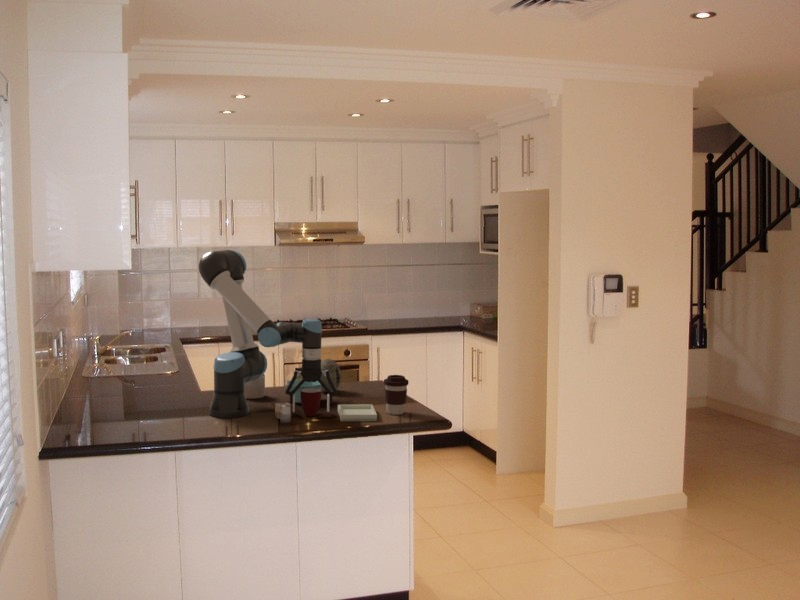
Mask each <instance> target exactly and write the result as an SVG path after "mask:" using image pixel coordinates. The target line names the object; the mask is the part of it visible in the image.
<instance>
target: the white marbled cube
mask: <svg viewBox="0 0 800 600" xmlns="http://www.w3.org/2000/svg"><path fill="white" fill-rule="evenodd" d="M274 405H275V406H274V416H275V418H277V419H280V408H281V405H291V404H290V402H276V403H275V404H274Z"/></svg>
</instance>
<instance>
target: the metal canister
mask: <svg viewBox="0 0 800 600" xmlns="http://www.w3.org/2000/svg"><path fill="white" fill-rule="evenodd" d="M279 422H280V423H284V424H285V423H287V424H288V423H291V422H292V404H290V405H281V408H280V421H279Z"/></svg>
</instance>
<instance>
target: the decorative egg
mask: <svg viewBox="0 0 800 600" xmlns="http://www.w3.org/2000/svg"><path fill="white" fill-rule="evenodd" d="M326 370H328V371H329V376H330V378H331V380H332V382H333V384H334V386H335V388H336V390H338V388H339V387H340V385H341V382H342V372H341V368H340V365H339V364H338V363H337V362H336V361H335V360H333V359H331V358H325V359H323V360H321V371H326ZM320 378H321V380H322V381H323V382H324V383H325V384H326V386H327V387H328V388H329V389H330V390H331V391H333V390H332V388H331V386H330V384H329V382H328V380H327V377H326V376H324V374H322V375H321V377H320ZM321 392H324V393H328V392H327V391H326V390H325V389H324V388H323V386H322V388H321Z"/></svg>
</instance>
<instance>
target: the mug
mask: <svg viewBox="0 0 800 600" xmlns="http://www.w3.org/2000/svg"><path fill="white" fill-rule="evenodd" d="M321 399H322V390H320V389H316V388H306V389H302V390H301V403H300V404H301V408H302V411H303V413H304V415H305V416H306V417H315V416H316V415H317V413H318V411H319V409H320V406H321V405H320V404H321Z"/></svg>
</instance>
